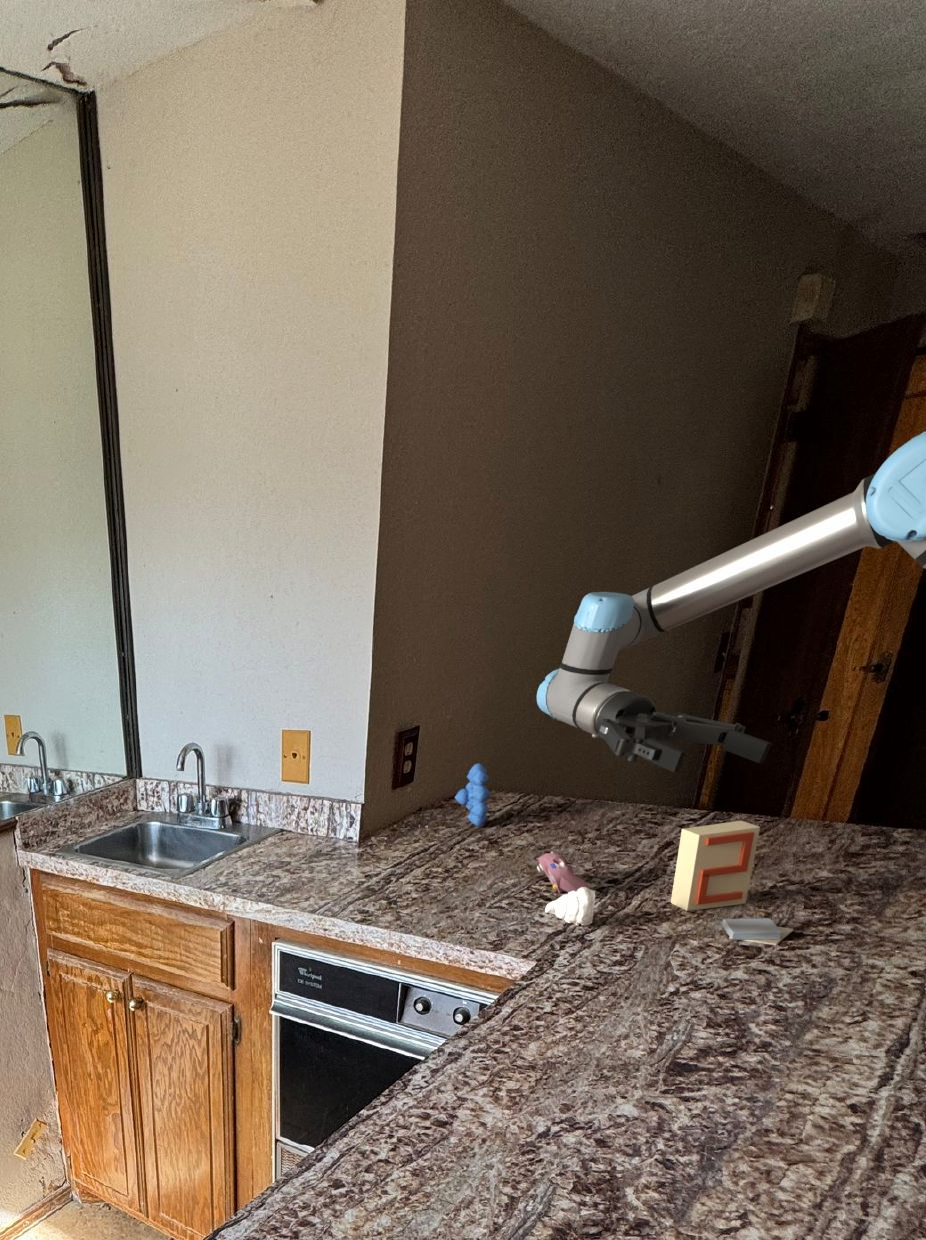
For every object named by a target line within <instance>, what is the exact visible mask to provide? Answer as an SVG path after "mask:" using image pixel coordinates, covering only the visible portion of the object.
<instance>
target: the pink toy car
mask: <svg viewBox="0 0 926 1240" xmlns="http://www.w3.org/2000/svg"><path fill="white" fill-rule="evenodd" d="M537 860H538V864H539V865H537V866H536V869H537V871H538V872H539V873H542V872H543V873H544V874H545V875H546V877H547V878H548V880H549V882H550V883H551V885H552V888H553V890H556V891H557V892H558V893H559V894H561V893H562V892H564V891H565V892H566V893H567V894H568V893H569V892H571V891H578V889H579V888H581V887H587V888H588V889H591V887H590V885H589V883H588V882H587V881H586V880H584V879H582V878H581V877H580V876H578V875H576V874H575V871H574V869H573V867H571V866H570V865H569V864H567V861H566V857H565V856H564V855H562V854H560V853H557V852H553V851H551V852H550V853H548V852H547V853H544V854H542V855H541V856H539V857H538V858H537Z"/></svg>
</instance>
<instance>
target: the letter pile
mask: <svg viewBox="0 0 926 1240" xmlns="http://www.w3.org/2000/svg"><path fill="white" fill-rule="evenodd" d="M721 926H722V928H723V930H724V931H725V932H726V934H727V935H728V936H729V937H728V939H730V940H732V941H733V940H736V941H743V942H751V943H756V944H765V945H772V946H778V945H779V944H780V943H781V942H782V941H783V940H784V939H785V938H787V937H788V936H789V935H790V934H791V933H792V932H793V931H795V930H794V928H790V927H783V926H778V925H776V923H775V921H773V920H772V919H771V918H769V917H768V918H767V917H764V918H723V920H722V925H721Z"/></svg>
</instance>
